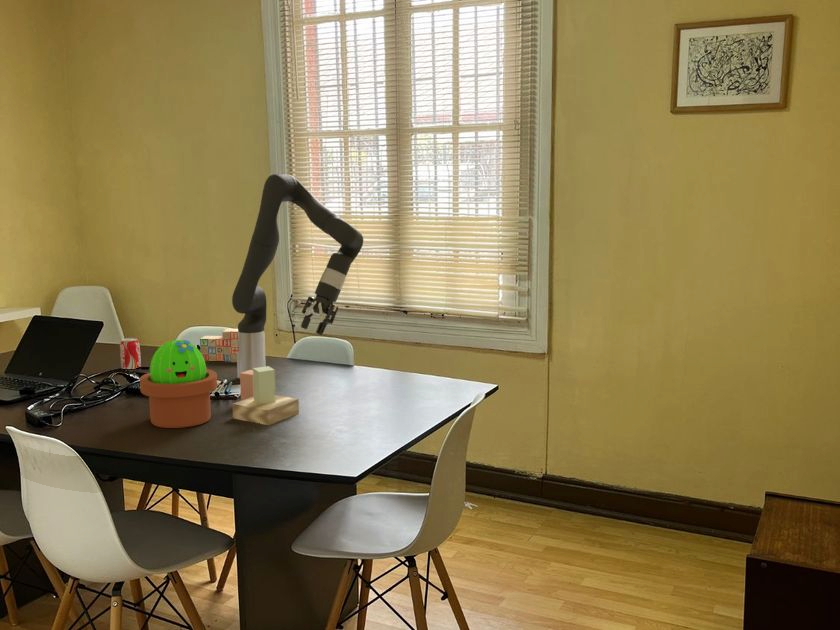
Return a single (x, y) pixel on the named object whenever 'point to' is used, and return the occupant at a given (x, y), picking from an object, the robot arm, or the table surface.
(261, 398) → the sage-green block
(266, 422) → the birch plinth block
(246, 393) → the clay-red block
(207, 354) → the stack of blocks
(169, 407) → the potted cactus
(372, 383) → the table surface
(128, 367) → the soda can
